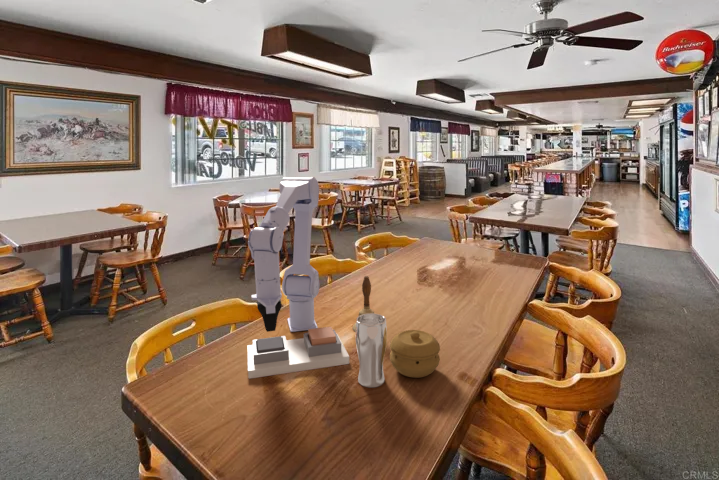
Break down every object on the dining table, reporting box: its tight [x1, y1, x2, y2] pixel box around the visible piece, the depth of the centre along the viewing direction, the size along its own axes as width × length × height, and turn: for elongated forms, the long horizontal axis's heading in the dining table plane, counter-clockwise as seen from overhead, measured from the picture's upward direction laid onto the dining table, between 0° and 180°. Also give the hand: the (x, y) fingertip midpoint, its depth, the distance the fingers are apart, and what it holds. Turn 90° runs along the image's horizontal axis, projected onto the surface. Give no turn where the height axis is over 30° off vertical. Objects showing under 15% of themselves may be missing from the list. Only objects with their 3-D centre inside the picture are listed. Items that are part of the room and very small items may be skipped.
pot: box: [389, 329, 441, 379], centre depth 96 cm, size 12×12×10 cm
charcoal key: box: [256, 335, 284, 353], centre depth 101 cm, size 6×6×3 cm
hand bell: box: [352, 275, 375, 333], centre depth 118 cm, size 8×8×16 cm
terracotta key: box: [307, 326, 336, 346], centre depth 104 cm, size 6×6×3 cm
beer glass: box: [355, 312, 388, 389], centre depth 91 cm, size 7×7×15 cm
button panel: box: [246, 329, 350, 380], centre depth 103 cm, size 13×24×4 cm, turn 106°
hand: (270, 330), depth 100 cm, fingers closed
